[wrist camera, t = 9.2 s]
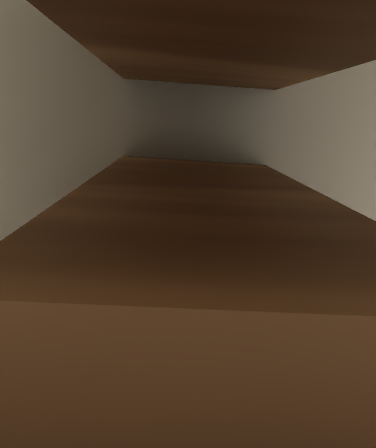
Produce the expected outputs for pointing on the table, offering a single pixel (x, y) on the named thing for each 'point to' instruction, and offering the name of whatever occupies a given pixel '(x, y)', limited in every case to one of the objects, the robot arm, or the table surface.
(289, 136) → the table surface
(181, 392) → the domino
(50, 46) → the table surface
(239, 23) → the domino
